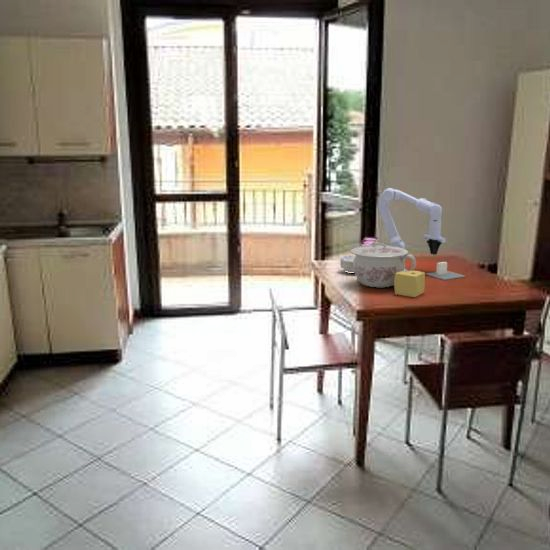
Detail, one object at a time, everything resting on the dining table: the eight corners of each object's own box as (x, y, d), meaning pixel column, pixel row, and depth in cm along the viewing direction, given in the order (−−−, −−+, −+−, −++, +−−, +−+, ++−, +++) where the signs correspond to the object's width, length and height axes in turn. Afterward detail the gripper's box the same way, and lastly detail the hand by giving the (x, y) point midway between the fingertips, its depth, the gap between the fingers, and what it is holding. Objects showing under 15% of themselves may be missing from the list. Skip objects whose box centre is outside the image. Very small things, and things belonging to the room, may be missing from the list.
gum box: (372, 269, 298) (373, 244, 295) (358, 268, 301) (358, 244, 298) (377, 260, 321) (378, 237, 317) (364, 259, 323) (364, 236, 320)
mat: (444, 280, 272) (444, 279, 272) (425, 274, 284) (425, 273, 284) (465, 277, 278) (465, 275, 278) (446, 271, 290) (446, 270, 290)
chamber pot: (339, 281, 274) (340, 240, 270) (386, 275, 284) (388, 236, 279) (368, 295, 249) (369, 250, 244) (419, 288, 259) (421, 245, 254)
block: (438, 275, 280) (439, 263, 279) (436, 274, 282) (436, 262, 281) (446, 273, 282) (447, 262, 281) (443, 273, 284) (444, 261, 283)
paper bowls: (369, 276, 284) (369, 261, 282) (339, 275, 286) (339, 260, 284) (369, 269, 298) (369, 255, 296) (341, 268, 301) (341, 254, 299)
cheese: (403, 289, 258) (404, 268, 255) (425, 293, 251) (426, 271, 248) (393, 294, 250) (394, 273, 247) (415, 298, 243) (416, 276, 241)
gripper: (450, 229, 278) (449, 255, 281) (431, 225, 291) (430, 251, 294) (440, 230, 275) (438, 257, 278) (421, 226, 288) (419, 252, 291)
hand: (433, 254), depth 286 cm, fingers closed
